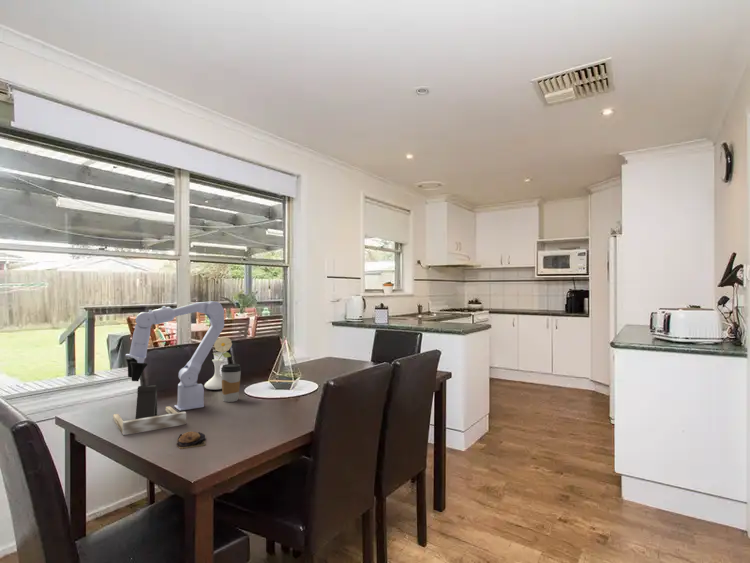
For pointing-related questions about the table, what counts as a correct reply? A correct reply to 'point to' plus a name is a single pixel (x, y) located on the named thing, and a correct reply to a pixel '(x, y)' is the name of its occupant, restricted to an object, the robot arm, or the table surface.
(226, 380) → the coffee cup
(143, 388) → the phone stand
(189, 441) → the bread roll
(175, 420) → the bar
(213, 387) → the flower in vase
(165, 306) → the robot arm
